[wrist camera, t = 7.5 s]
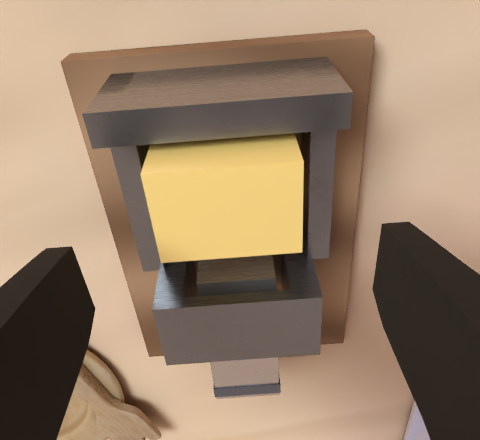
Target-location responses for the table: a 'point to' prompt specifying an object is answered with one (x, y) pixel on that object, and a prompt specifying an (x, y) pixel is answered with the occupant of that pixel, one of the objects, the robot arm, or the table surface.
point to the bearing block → (238, 316)
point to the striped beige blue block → (240, 281)
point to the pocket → (224, 127)
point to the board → (347, 140)
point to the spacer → (225, 197)
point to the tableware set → (102, 408)
